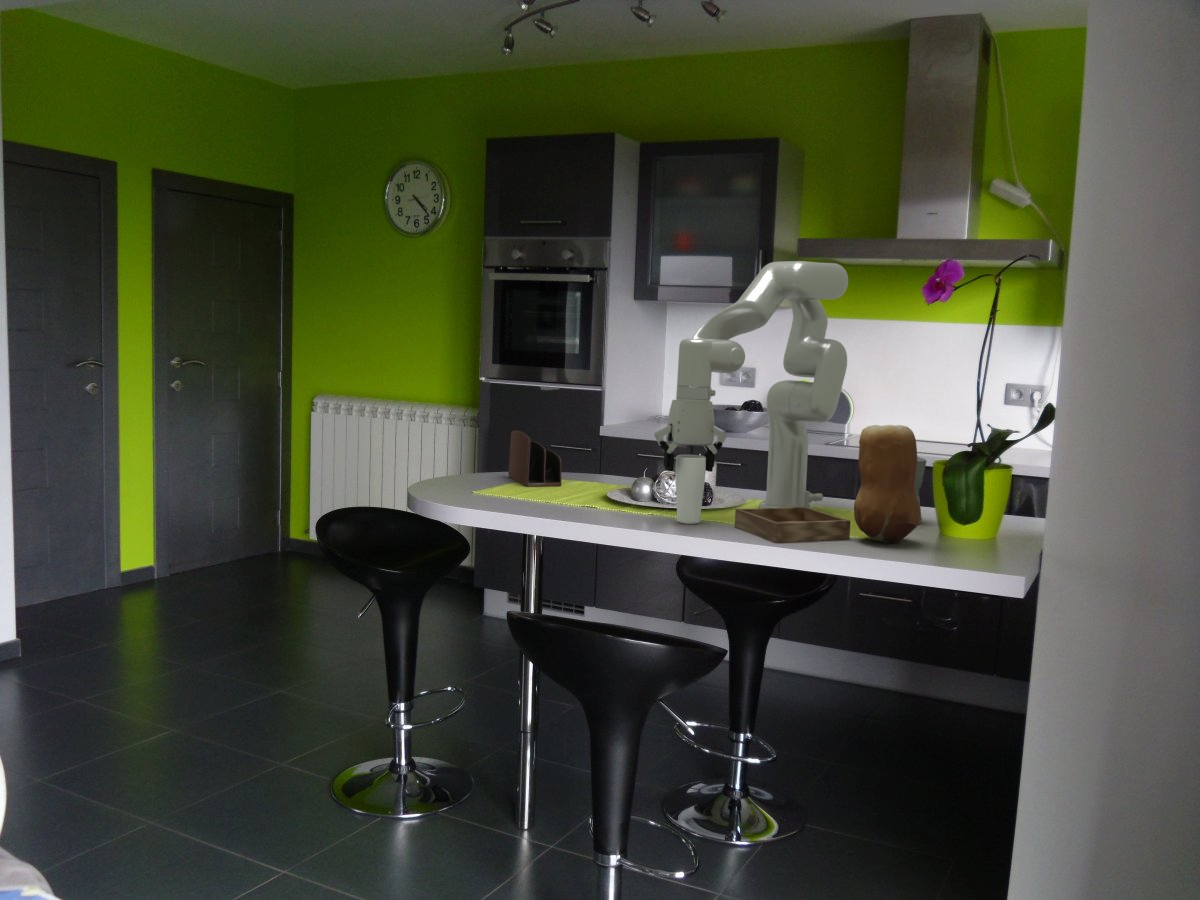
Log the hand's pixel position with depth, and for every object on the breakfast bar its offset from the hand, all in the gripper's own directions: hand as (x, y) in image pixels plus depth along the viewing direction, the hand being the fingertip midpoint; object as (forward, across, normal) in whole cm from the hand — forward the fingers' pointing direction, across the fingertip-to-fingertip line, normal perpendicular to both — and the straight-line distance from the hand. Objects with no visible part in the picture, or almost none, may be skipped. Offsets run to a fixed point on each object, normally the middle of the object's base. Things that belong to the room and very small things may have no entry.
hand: (688, 470), depth 243 cm
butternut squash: (+11, -33, +29) cm, 45 cm away
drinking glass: (+12, -1, 0) cm, 12 cm away
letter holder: (+12, +15, -66) cm, 69 cm away
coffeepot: (+11, -51, +10) cm, 53 cm away
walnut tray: (+12, -18, +16) cm, 26 cm away
